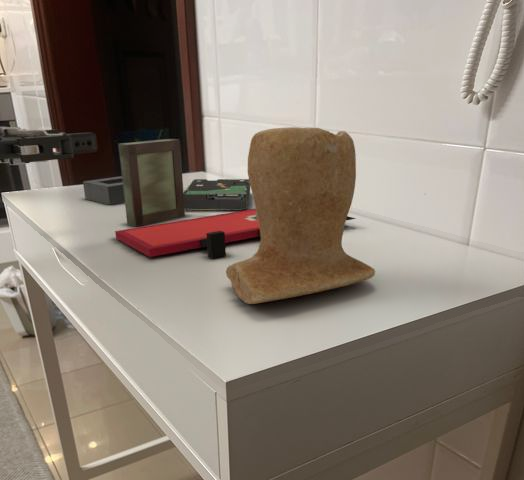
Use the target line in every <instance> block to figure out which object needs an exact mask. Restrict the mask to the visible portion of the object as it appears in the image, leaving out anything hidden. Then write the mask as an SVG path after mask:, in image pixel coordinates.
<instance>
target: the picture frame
mask: <svg viewBox="0 0 524 480" xmlns="http://www.w3.org/2000/svg"><path fill="white" fill-rule="evenodd" d="M117 144H118V145H117V147H118V154H119V163H120V170H121V171H120V172H121V176H122V181H123V190H124V199H125V202H124V206H125V217H126V225H128V226H132V227H134V228H138V227H143V226H148V225H152V224H155V223H160V222H165V221H169V220H175V219H179V218H183V217H186V209H185V208H184V194H183V193H184V181H183V164H182V151H181V150H182V149H181V139H176V138H165V139H164V138H163V139H155V140H154V139H153V140H144V141H134V142H123V143H121V142H120V143H117Z"/></svg>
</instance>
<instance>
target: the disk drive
mask: <svg viewBox="0 0 524 480" xmlns="http://www.w3.org/2000/svg"><path fill="white" fill-rule="evenodd" d="M183 194H184V208H185V210H188V211H191V210H192V211H193V210H194V211H197V210H199V211H200V210H201V211H204V210H205V211H207V210H208V211H209V210H210V211H212V210H213V211H215V210H216V211H217V210H218V211H219V210H220V211H221V210H222V211H224V210H225V211H227V210H228V211H230V210H232V211H234V210H239V211H243V210H247V209H248V205H249V200H250V196H251V187H250V183H249V178H239V179H237V178H236V179H235V178H234V179H232V178H231V179H230V178H229V179H228V178H219V179H215V180H212V179H211V180H208V179H207V178H204V179H203V178H195V179H193V180H192V181H191V182H190V184H189V186H187V188H186V189H185V190H183Z"/></svg>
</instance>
